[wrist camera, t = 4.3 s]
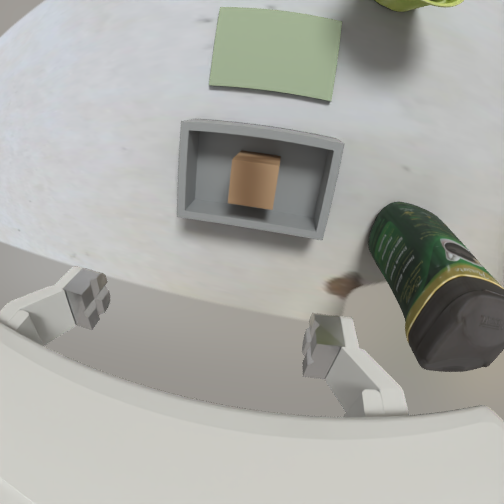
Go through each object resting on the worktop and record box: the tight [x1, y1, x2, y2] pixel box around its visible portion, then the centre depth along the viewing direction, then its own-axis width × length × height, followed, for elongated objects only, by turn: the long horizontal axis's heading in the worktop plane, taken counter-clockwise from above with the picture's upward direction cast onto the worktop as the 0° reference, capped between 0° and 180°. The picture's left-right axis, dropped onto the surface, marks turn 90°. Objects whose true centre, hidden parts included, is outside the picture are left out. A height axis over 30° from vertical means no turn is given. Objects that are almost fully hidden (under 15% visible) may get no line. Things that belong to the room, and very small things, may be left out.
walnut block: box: [228, 150, 281, 210], centre depth 26 cm, size 4×4×5 cm
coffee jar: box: [368, 202, 504, 372], centre depth 22 cm, size 10×8×19 cm
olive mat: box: [209, 7, 342, 101], centre depth 22 cm, size 12×9×1 cm
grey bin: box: [177, 119, 344, 240], centre depth 27 cm, size 15×10×4 cm, turn 83°
